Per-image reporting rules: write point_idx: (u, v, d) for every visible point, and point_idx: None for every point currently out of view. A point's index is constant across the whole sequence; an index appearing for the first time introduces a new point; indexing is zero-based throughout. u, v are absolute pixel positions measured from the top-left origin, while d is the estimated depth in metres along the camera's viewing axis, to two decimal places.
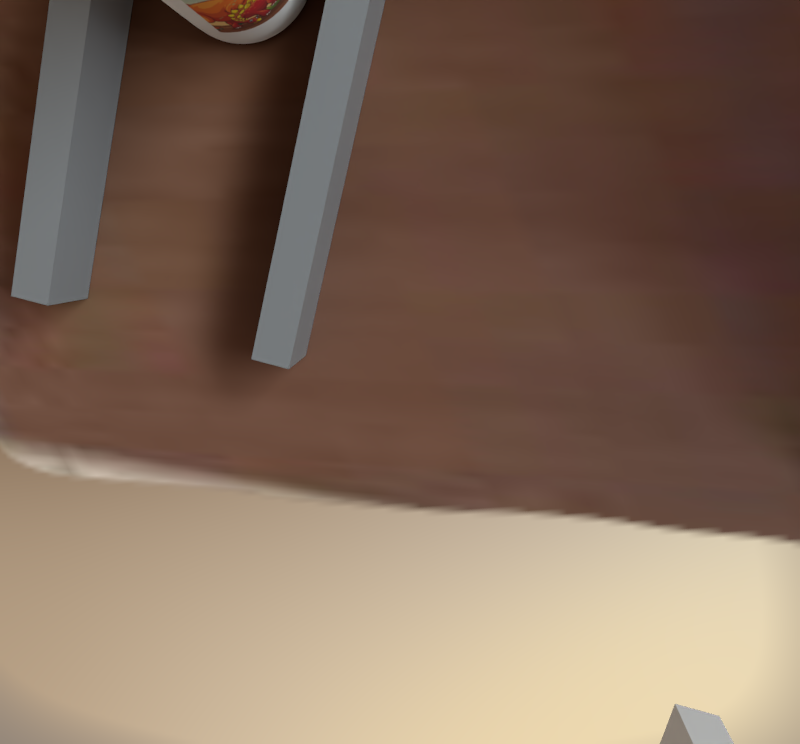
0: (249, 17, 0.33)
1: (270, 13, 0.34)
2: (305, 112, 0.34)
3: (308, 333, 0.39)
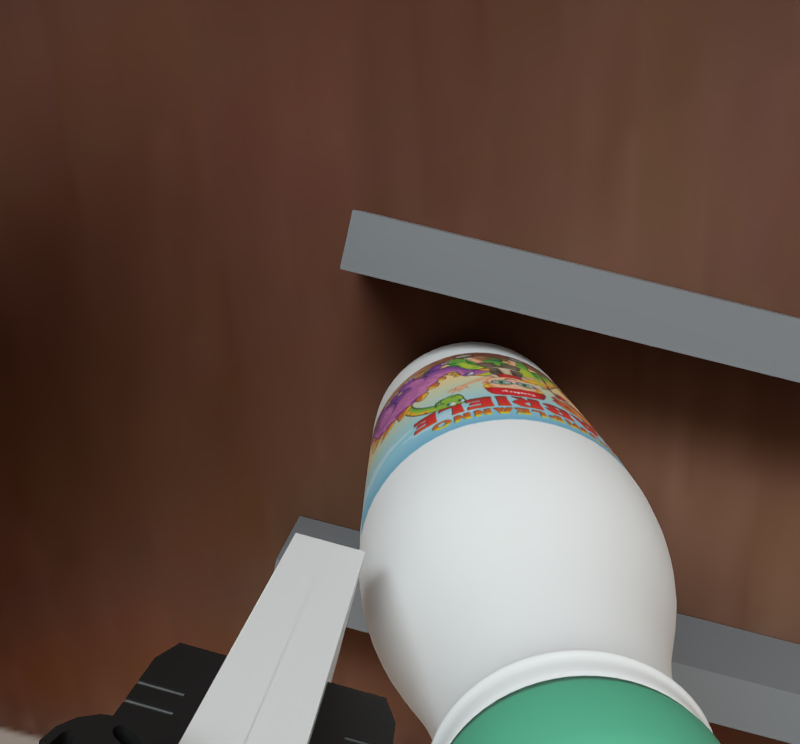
0: None
1: None
2: (707, 355, 0.24)
3: None
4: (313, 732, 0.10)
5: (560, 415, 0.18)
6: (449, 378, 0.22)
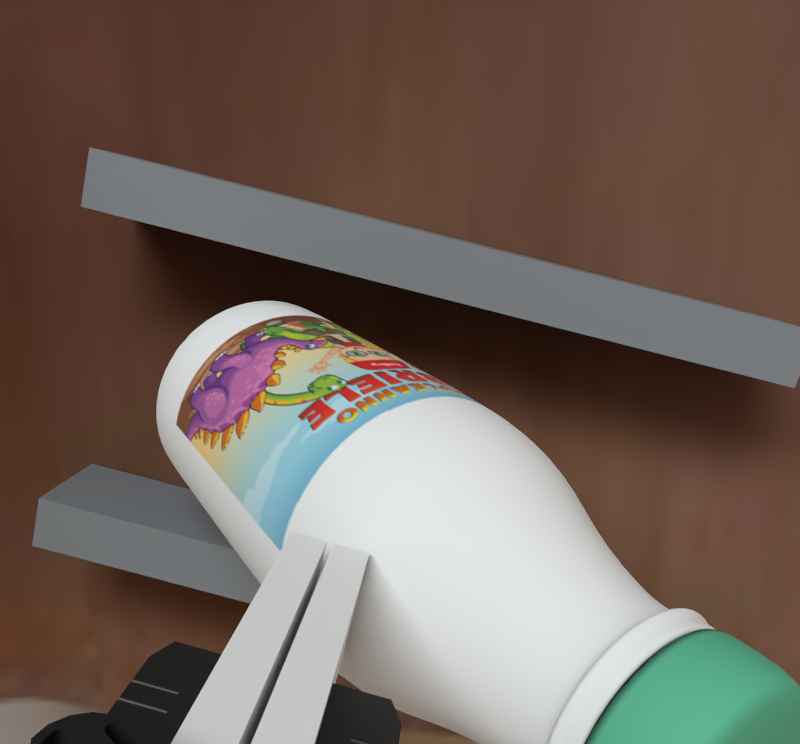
0: None
1: None
2: (438, 293, 0.24)
3: None
4: (319, 734, 0.10)
5: (441, 383, 0.19)
6: (291, 354, 0.20)
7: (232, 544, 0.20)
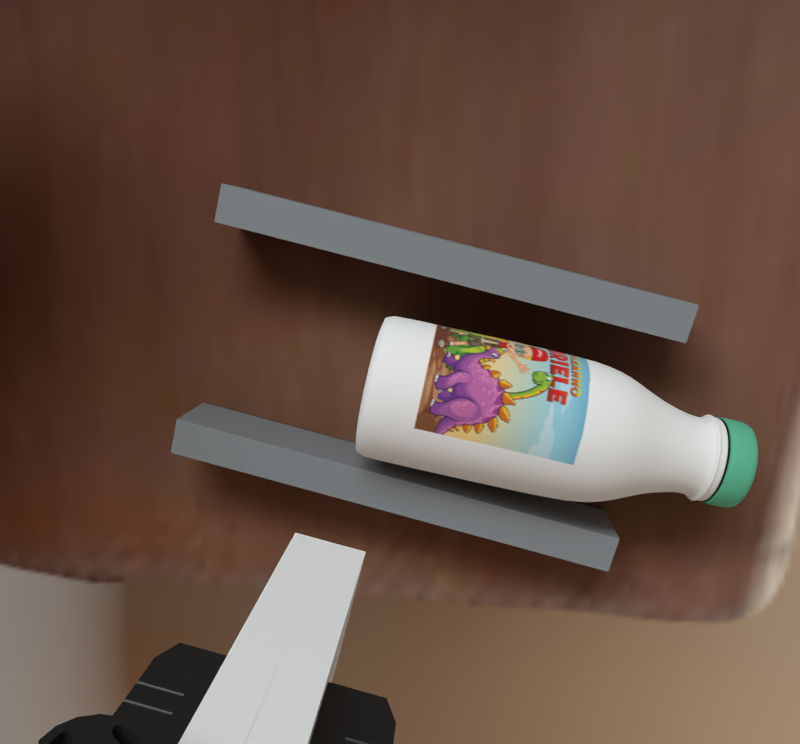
0: None
1: None
2: (450, 279, 0.36)
3: None
4: (313, 732, 0.10)
5: (565, 354, 0.37)
6: (493, 364, 0.35)
7: (492, 475, 0.35)
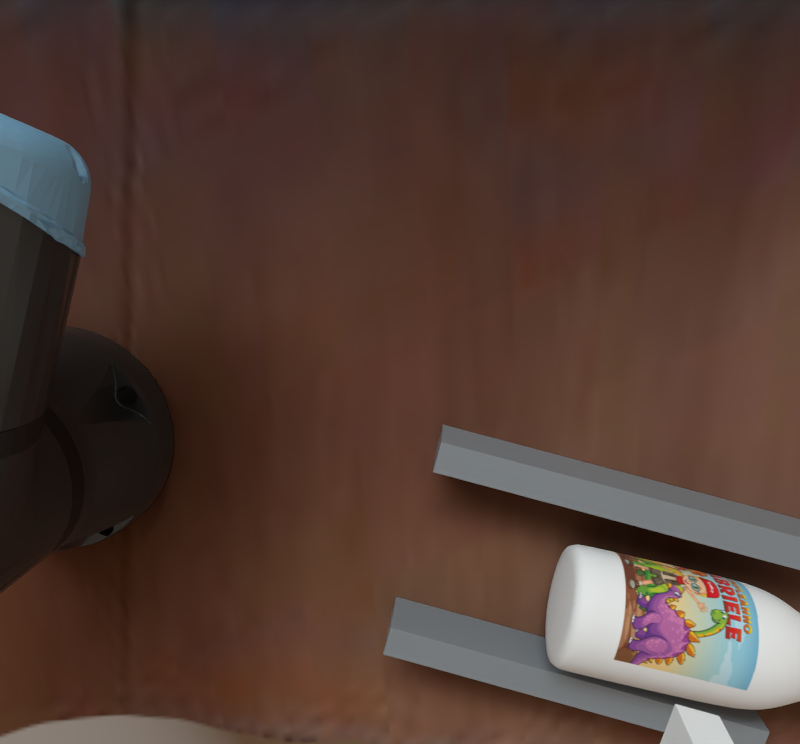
0: None
1: None
2: (634, 523, 0.43)
3: (796, 521, 0.46)
4: None
5: (729, 583, 0.44)
6: (677, 604, 0.41)
7: (673, 693, 0.42)
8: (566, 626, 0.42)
